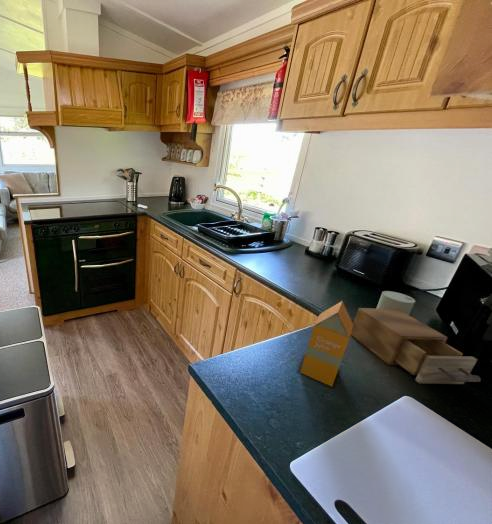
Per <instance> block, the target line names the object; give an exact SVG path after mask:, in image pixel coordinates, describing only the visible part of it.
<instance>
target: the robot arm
mask: <svg viewBox="0 0 492 524" xmlns="http://www.w3.org/2000/svg"><path fill="white" fill-rule="evenodd" d="M483 305H484V306H486V307H488V308H490V309H491V310H492V293H490V295H489V296H488V297H486V299H485V300H484V301H483ZM486 324H487V325H488V327H487V329H486V330H485V333H484V335H483V336H482V339H483V340H485V341H492V312H491V313H490V315H489V316H488V319H487V320H486Z"/></svg>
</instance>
